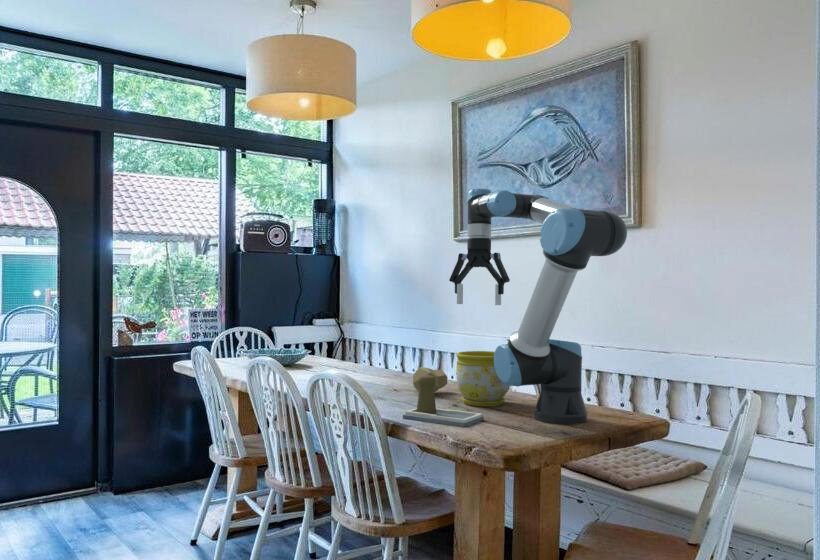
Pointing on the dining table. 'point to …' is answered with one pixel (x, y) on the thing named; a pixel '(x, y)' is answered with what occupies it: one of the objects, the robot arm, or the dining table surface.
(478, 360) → the flowerpot
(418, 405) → the cork
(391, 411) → the dining table surface
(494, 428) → the dining table surface
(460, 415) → the grey shallow tray
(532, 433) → the dining table surface
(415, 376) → the low-poly potato
